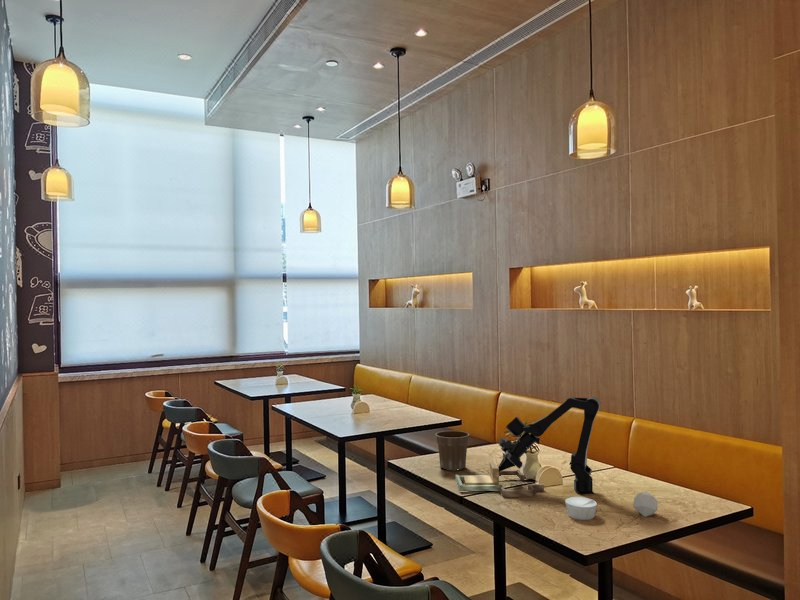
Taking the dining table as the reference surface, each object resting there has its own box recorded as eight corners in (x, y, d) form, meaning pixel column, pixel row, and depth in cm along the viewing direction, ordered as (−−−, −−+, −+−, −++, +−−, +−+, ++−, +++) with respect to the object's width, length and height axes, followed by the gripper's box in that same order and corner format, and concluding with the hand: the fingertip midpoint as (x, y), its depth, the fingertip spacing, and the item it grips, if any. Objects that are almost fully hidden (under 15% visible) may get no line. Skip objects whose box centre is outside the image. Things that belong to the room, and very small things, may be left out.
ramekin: (599, 522, 214) (598, 507, 214) (566, 520, 216) (566, 505, 216) (595, 511, 225) (595, 497, 225) (564, 509, 227) (564, 496, 227)
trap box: (531, 475, 272) (531, 468, 272) (548, 496, 242) (548, 488, 242) (453, 476, 271) (453, 470, 271) (462, 498, 242) (462, 490, 242)
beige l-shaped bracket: (495, 482, 262) (495, 462, 262) (498, 489, 252) (498, 468, 252) (463, 482, 262) (463, 462, 262) (465, 489, 252) (465, 468, 252)
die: (643, 510, 227) (628, 490, 226) (664, 503, 222) (648, 483, 222) (642, 525, 220) (626, 504, 219) (663, 518, 215) (647, 497, 215)
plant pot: (435, 463, 295) (435, 430, 295) (468, 462, 294) (468, 430, 294) (436, 472, 278) (435, 437, 278) (471, 472, 278) (470, 437, 278)
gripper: (505, 426, 266) (481, 452, 266) (514, 436, 248) (488, 463, 247) (523, 444, 266) (498, 469, 266) (533, 454, 248) (507, 482, 247)
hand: (497, 470), depth 257 cm, fingers closed
